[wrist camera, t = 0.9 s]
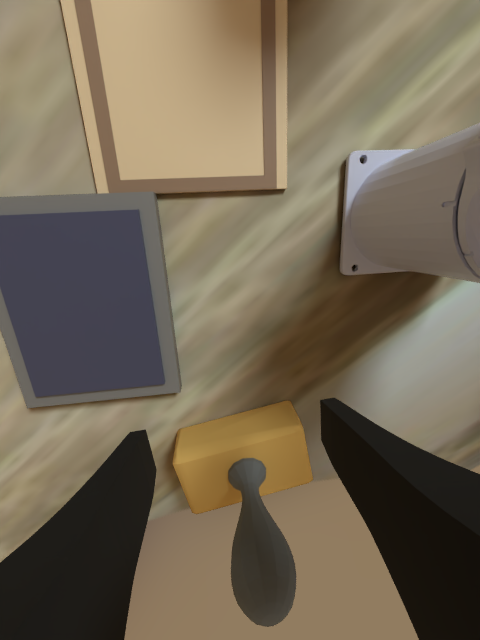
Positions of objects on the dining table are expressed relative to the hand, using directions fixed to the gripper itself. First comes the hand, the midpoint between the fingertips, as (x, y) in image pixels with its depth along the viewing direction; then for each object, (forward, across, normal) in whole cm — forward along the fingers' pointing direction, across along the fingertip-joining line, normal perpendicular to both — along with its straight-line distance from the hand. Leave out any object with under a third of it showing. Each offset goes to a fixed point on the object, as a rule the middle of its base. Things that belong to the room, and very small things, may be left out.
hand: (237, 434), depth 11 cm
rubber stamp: (+11, 0, +10) cm, 14 cm away
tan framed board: (+10, 0, -18) cm, 20 cm away
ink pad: (+10, +9, -4) cm, 14 cm away
